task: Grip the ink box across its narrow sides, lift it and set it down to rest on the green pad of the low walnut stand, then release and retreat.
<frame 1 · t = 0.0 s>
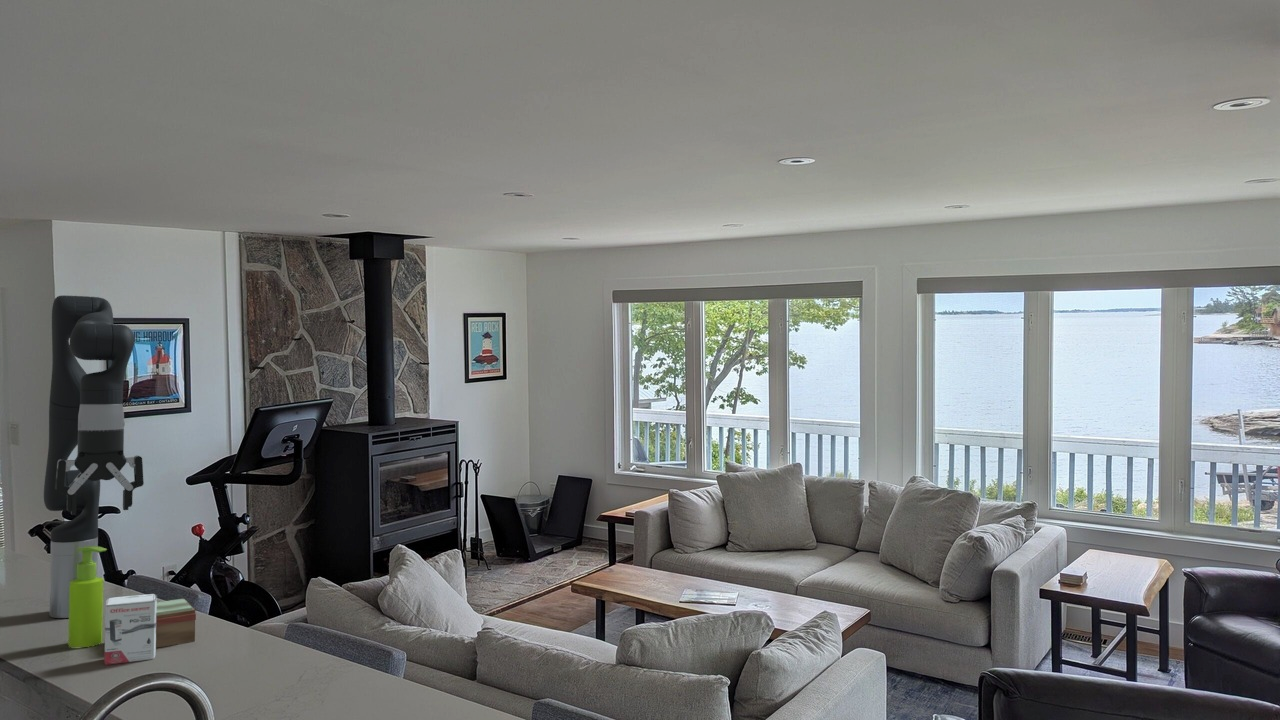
hand: (99, 511, 165), 29 cm above the counter, tool pointing down, fingers open, 8 cm apart
stand: (158, 640, 180), on the counter
soap dispenser: (87, 645, 177), on the counter
ink box: (130, 660, 168), on the counter
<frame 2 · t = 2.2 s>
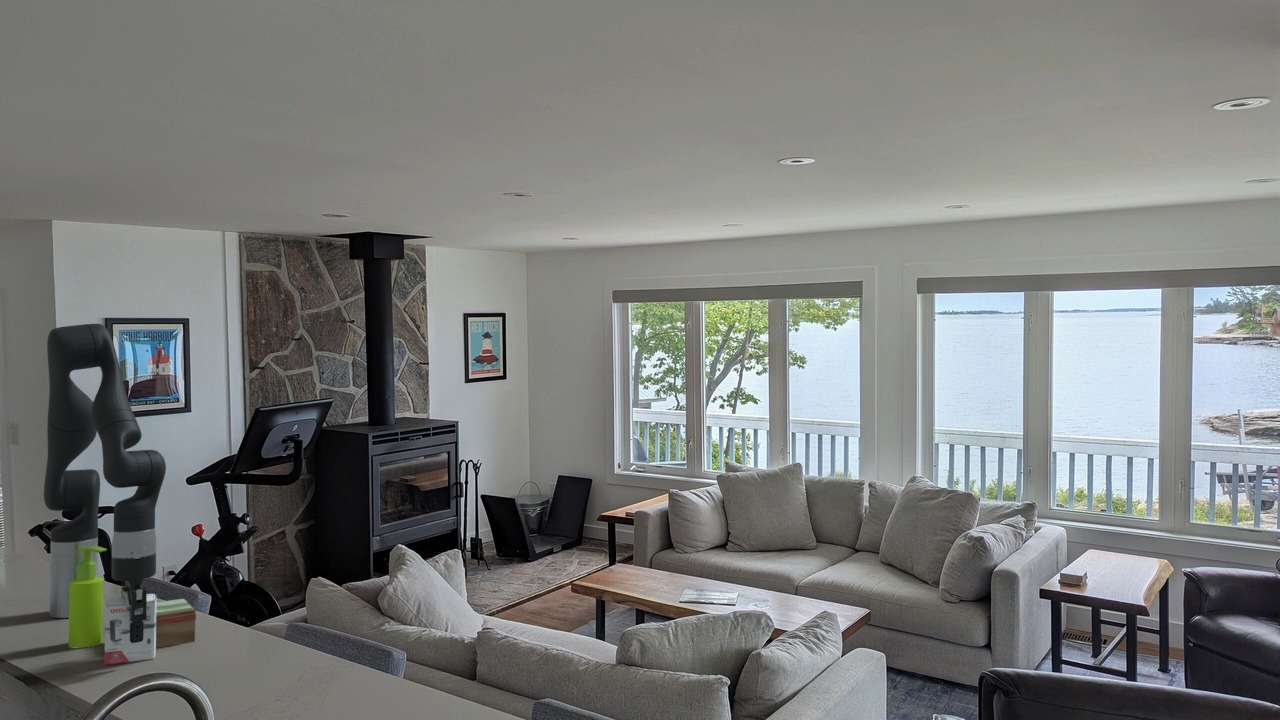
hand: (133, 637, 168), 4 cm above the counter, tool pointing down, fingers open, 7 cm apart
ink box: (130, 660, 168), on the counter, touching gripper
everything else where it was.
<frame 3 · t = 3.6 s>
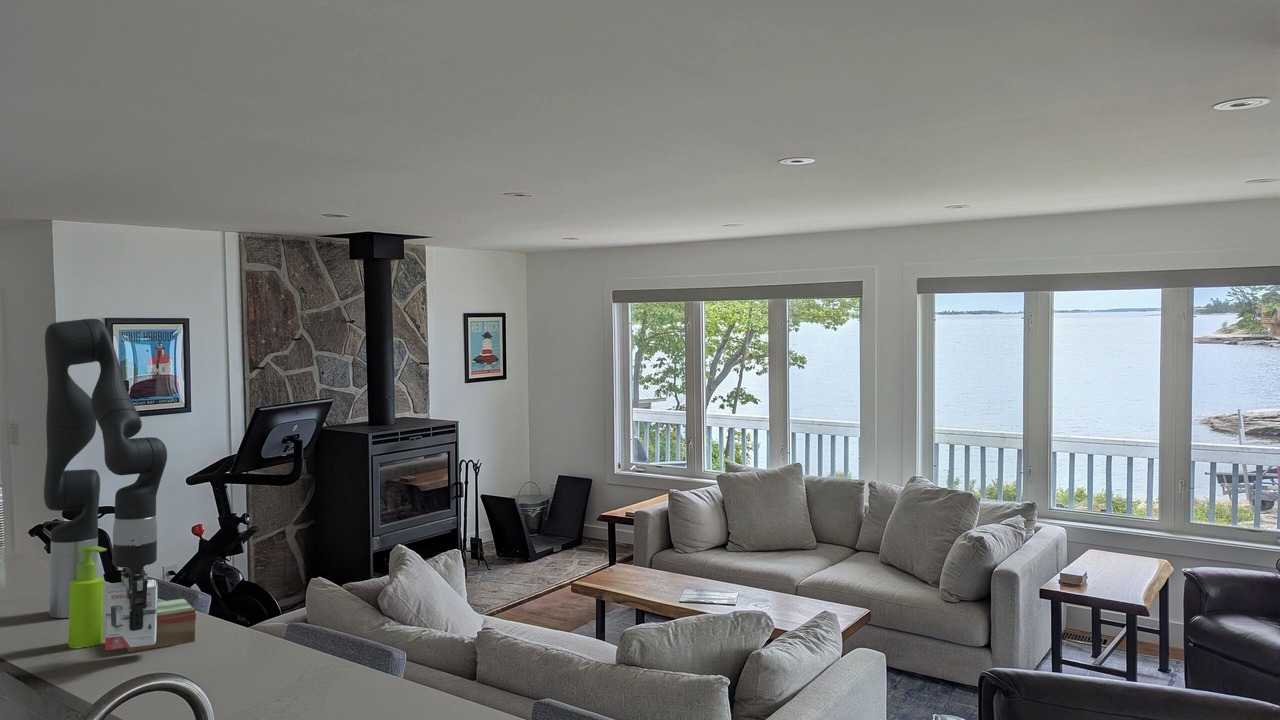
hand: (133, 625, 169), 6 cm above the counter, tool pointing down, fingers closed on ink box, 5 cm apart
ink box: (131, 645, 169), point 3 cm above the counter, touching gripper
everything else where it was.
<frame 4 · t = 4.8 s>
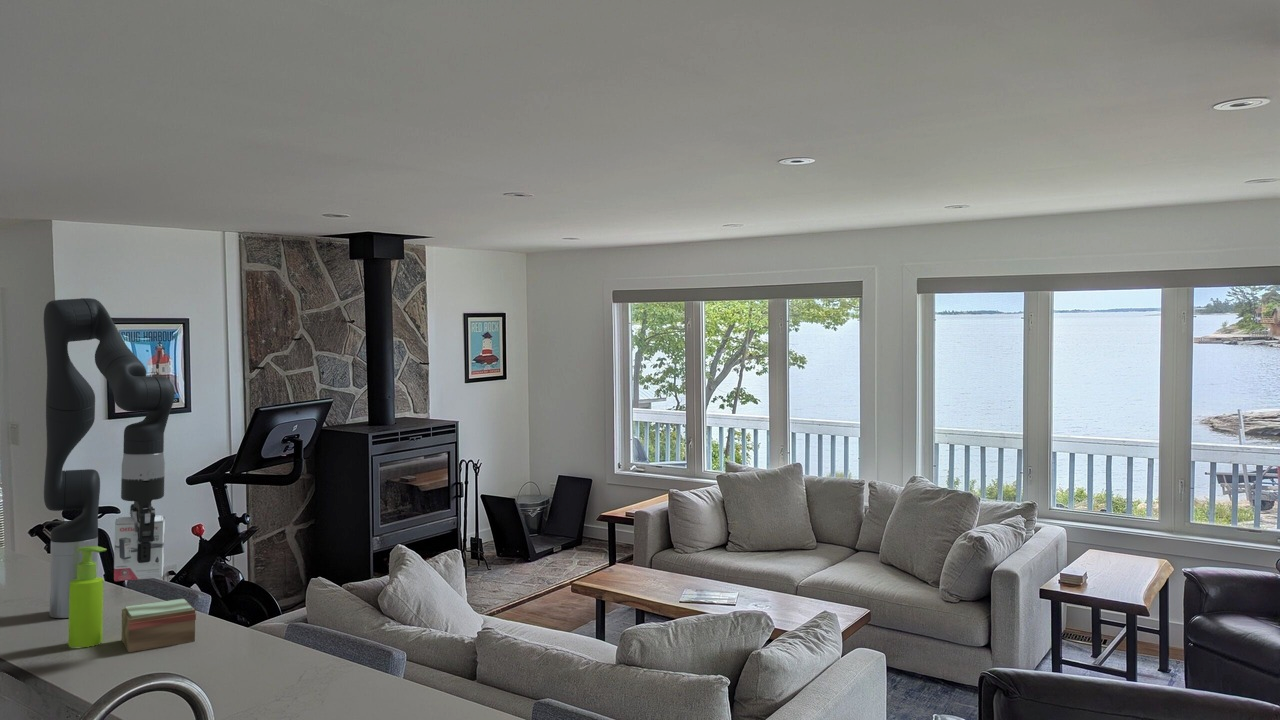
hand: (141, 558, 173), 19 cm above the counter, tool pointing down, fingers closed on ink box, 5 cm apart
ink box: (139, 578, 173), point 15 cm above the counter, touching gripper
everything else where it was.
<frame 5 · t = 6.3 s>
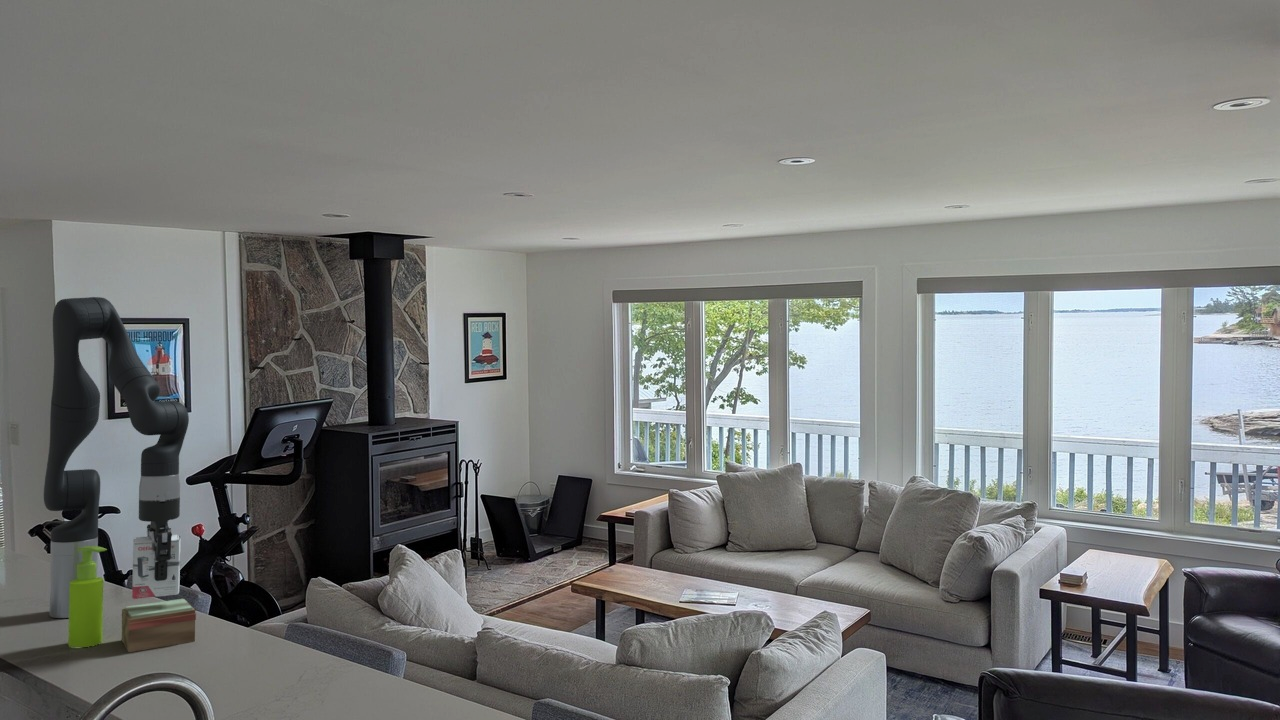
hand: (158, 577, 180), 13 cm above the counter, tool pointing down, fingers closed on ink box, 5 cm apart
ink box: (156, 595, 180), point 9 cm above the counter, touching gripper
everything else where it was.
when the fingers open (11 cm above the counter, at t = 7.1 s): ink box stays where it is, resting on stand.
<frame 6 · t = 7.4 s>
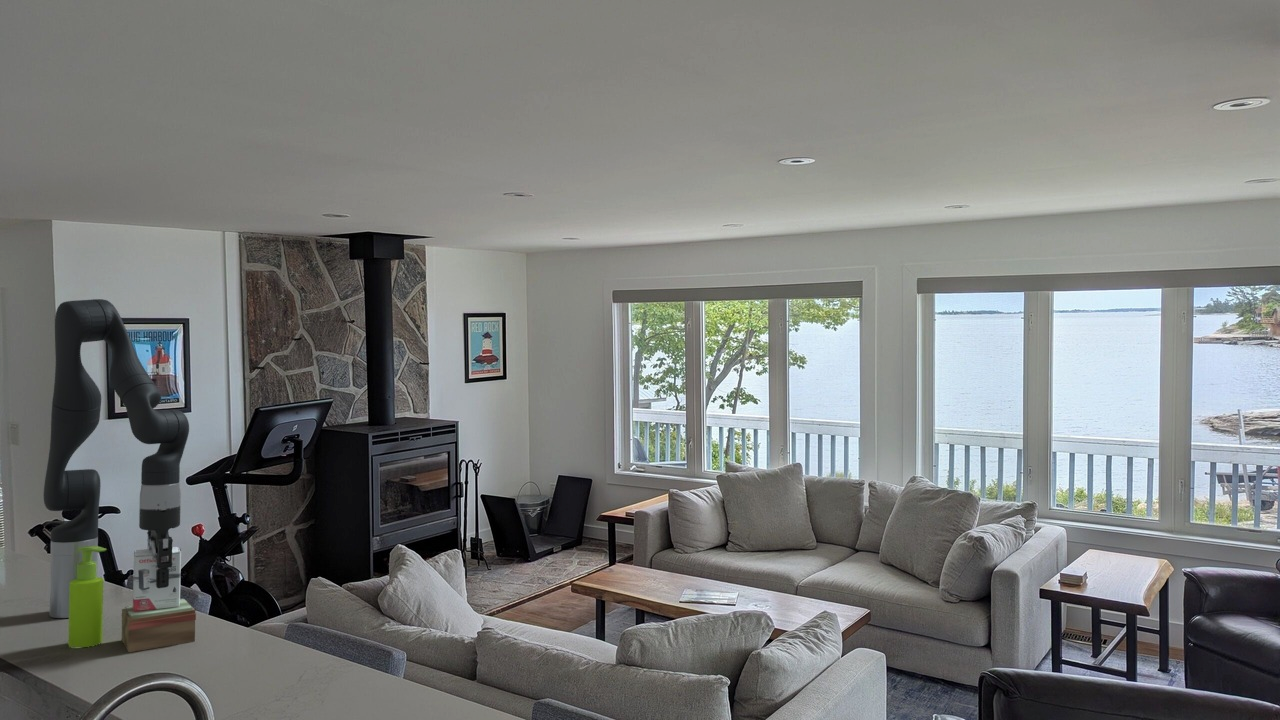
hand: (159, 583, 180), 12 cm above the counter, tool pointing down, fingers open, 7 cm apart
ink box: (156, 608, 180), point 7 cm above the counter, touching stand
everything else where it was.
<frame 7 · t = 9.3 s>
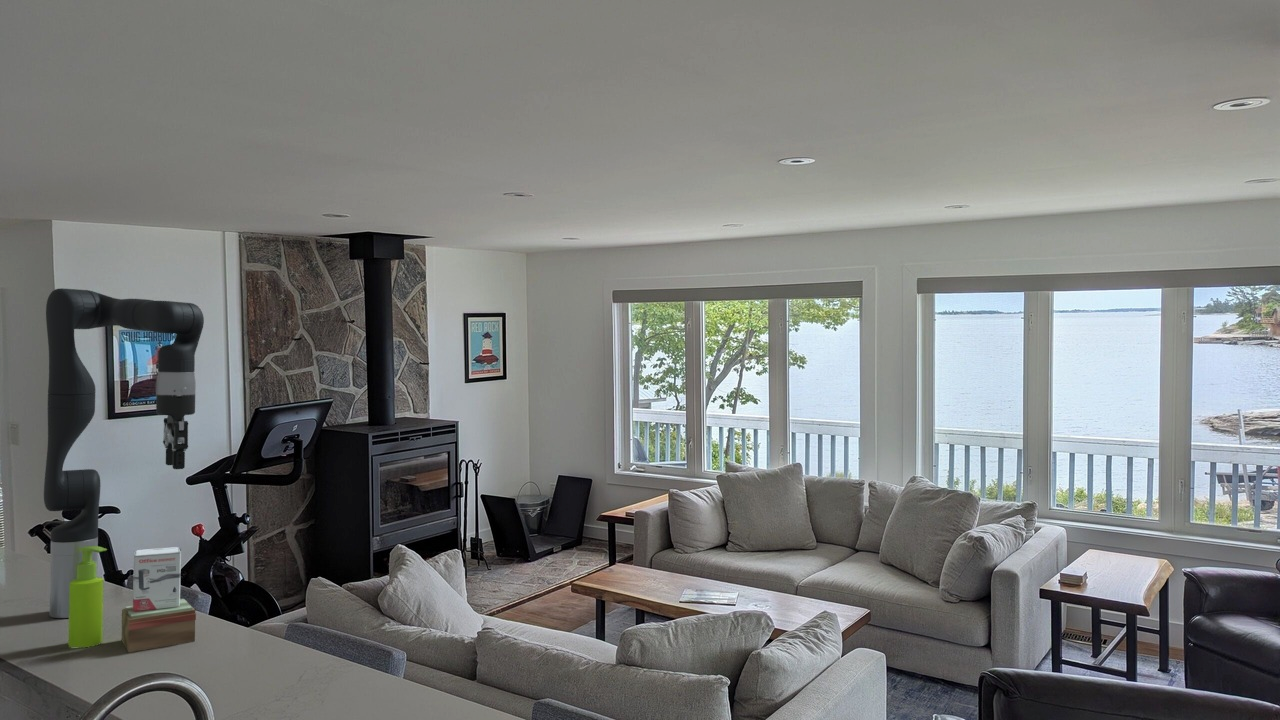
hand: (174, 467, 188), 35 cm above the counter, tool pointing down, fingers open, 8 cm apart
nothing on the counter moved.
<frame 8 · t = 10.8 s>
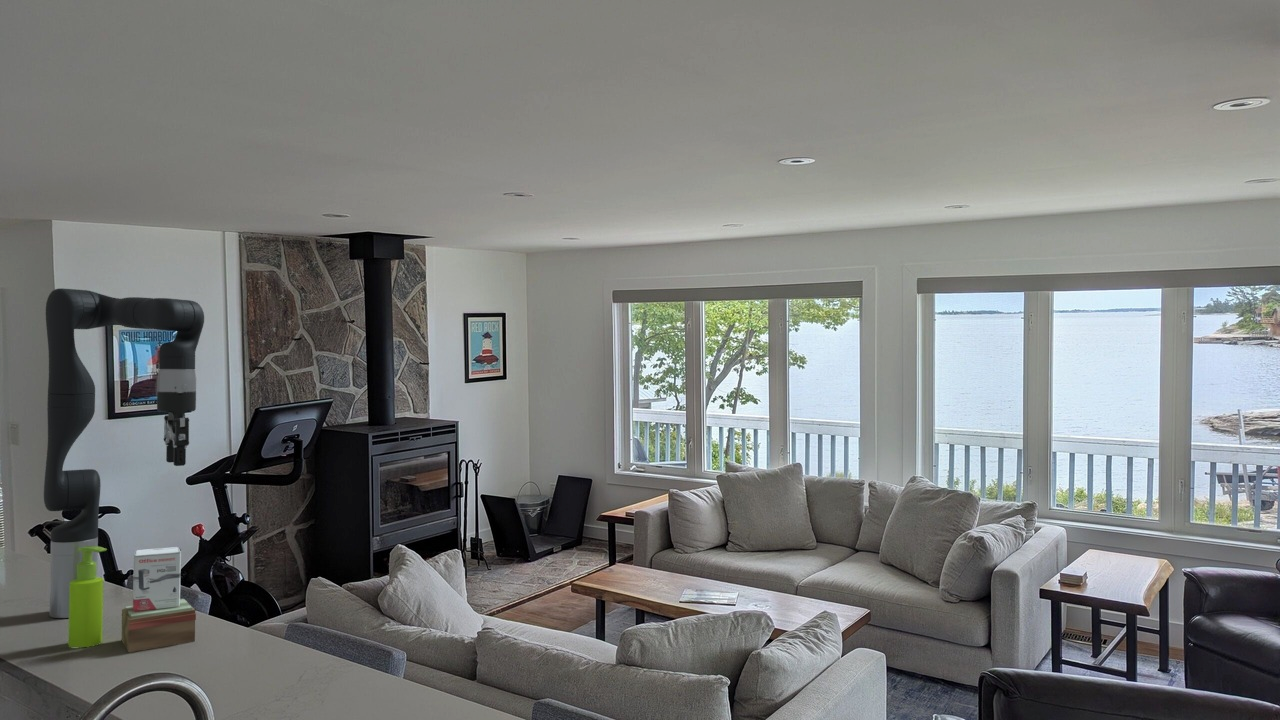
hand: (175, 463, 188), 36 cm above the counter, tool pointing down, fingers open, 8 cm apart
nothing on the counter moved.
at the end: ink box inside the target area on the stand (0.4 cm from its centre), point 6.8 cm above the stand's base; ink box tilted 0°; the gripper is holding nothing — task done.
